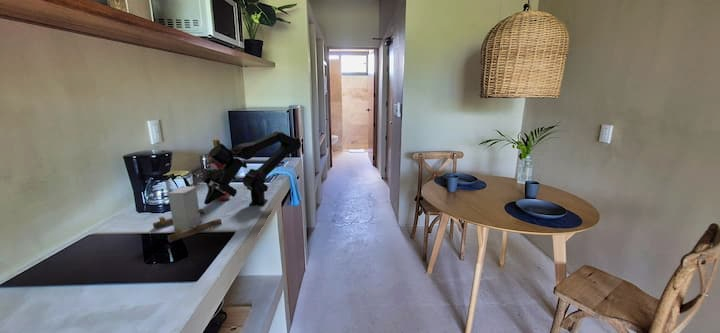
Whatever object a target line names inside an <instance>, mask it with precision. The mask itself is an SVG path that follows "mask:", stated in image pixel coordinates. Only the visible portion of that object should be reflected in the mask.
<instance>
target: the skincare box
mask: <svg viewBox="0 0 720 333" xmlns="http://www.w3.org/2000/svg"><path fill="white" fill-rule="evenodd" d="M167 195H168V202H169V207H170V212H171V218H172V219H173V224H172V225H173V229H176V228H179V229H180V231H183V230H186V229H189V228H192V227H194V226H198V225H200V224H201V223H200V222H202V218H201V215H200V211H199V209H200V206H199V198H198V194H197V187H196V186H180V187H178V188H176V189H173V190H172V191H170V192H167ZM197 224H198V225H197Z"/></svg>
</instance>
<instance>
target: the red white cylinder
mask: <svg viewBox="0 0 720 333" xmlns="http://www.w3.org/2000/svg"><path fill="white" fill-rule="evenodd" d="M212 142H213V148H214V147H216V146H218V145H219V144H220V143H221V140H220V139H219V138H218V139H217V138H215V139H213V140H212ZM209 164H210V165H209V166H210V169H211V170H213V169H216V170H218V169H222V168H223V167H224V166H225V164H224V165H220V164H219V163H217V162H216V161H215V160H213V159H212V158H210V159H209ZM225 194H226V195H224V196H222V197H220V198H218V199H217V201H226V200H229V199H230V197H232V196H231V195H230V194H228V193H227V192H225Z"/></svg>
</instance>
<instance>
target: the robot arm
mask: <svg viewBox="0 0 720 333" xmlns="http://www.w3.org/2000/svg"><path fill="white" fill-rule="evenodd" d="M277 143H280V146H279V148H278V149H277V150H276V151H275V152H274V153H273V154H272V155H271V156H270V157H269V158H268V159H266V161H265V162H264V163H263V164H261V165H260V167H259V168H257V169H255V168H250V169H249V170H248V172H247V173H245V174H244V176H243V178H242V184H243V186H244V187H246V189H247V190H248V191H250V198H251V202H250V203H249V204H248V206H253V205H254V206H255V205H257V206H262V207H263V206H265V204H266V203H267V202H268V199H266V197H265V192H268V191H269V190H268V189H269V186H268V184H267V185H266V184H265V182H266V178H267V176H268V175H269V174H270V173H271V172H272V171H273V170H274V169H275V168H277V167H278V165H279V164H281V162H282V161H283V160H284V159H285V158H286V157H288V156H289V155H291V154H294V153H295V152H297V151H299V149H301V147H302V145H301V144H302V143H301V140H300V138H297V137H292V136H290V135H288V134H286V133H284V132H282V131H274V132H273V133H270V134H269V135H266V136H264V137H261V138H259V139H257V140H254V141H252V142H243V143H240V144H239V143H238V144H237V145H235V146H234V147H233V148H230V149H229V148H228V147H226V146H225V145H224V144H223V143H221V142H220V144H219V145H218V146H216V147H214V146H213V148H211V149H210V150H209V152H208V157H209V158H210V159H213V160H215V161H216V162H217V163H219V164H220V165H224V164H225V166H224V167H223V168H222V169H218V170H216V169H213V170H211V168H205V167H204V168H203V170H202V172H201V177H202V178H200V179H201V180H200V181H202V182H204V183H205V184H206V186H207V193H206V196H205V199H204V202H203V203H204V204H205V205H206V206H208V205H209V204H211V203H213V202H214V201H216V200H218V198H220V197H222V196H224V195H226V194H225V192H227V193H228V194H230V195H231V196H230V197H233V198H235V196H236V195H237V194H238V193H237V189H236V188H234V187H233V186H231V185H230V184H231V182H232V181H233V180H234V181H235V180H236V179H237V177H236V176H237V174H238V173H239V172H240V170H241V169H242V168H243V169H247V168H248V164H247V161H248V160H251V159H252V158H254V157H255V156H256V155H257V154H258V152H260V151H262V150H264V149H267V148H269V147H271V146H273V145H275V144H277ZM241 159H242V160H241ZM255 207H256V206H255Z"/></svg>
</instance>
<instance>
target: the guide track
mask: <svg viewBox="0 0 720 333" xmlns="http://www.w3.org/2000/svg"><path fill="white" fill-rule="evenodd" d="M199 211H200V216H204V215H205V209H204V208H199ZM158 219H159V220H158V221H157V222H156V221H155V222H153V223H152V226H153V229H154V230H157V229H158V230H159V229H160V227H161V228H164V226H165V227H168V226H171V225H173V219H172V217H170V218H165V217H164V215H163V216H159V218H158ZM170 224H171V225H170ZM219 224H221V225H222V219H221V218H217V219H214V220H211V221H208V222H204V223H200V224H198V225H196V226H195V227H192V228H189V229H186V230H183V231H180V229H179V228H176V229H174V228H173V229H174V233H170V234H168V235H167V241H168V242H169V243H172V242H175V241H179V240H180V239H185V238H186V237H190V236H192V235H195V234H198V233H201V232H204V231H206V229H207V230H209V229H208V228H210V229H212V228H211V227H213V228H215V227H214V226H216V225H218V226H220V225H219ZM167 225H168V226H167ZM216 227H217V226H216Z"/></svg>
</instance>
